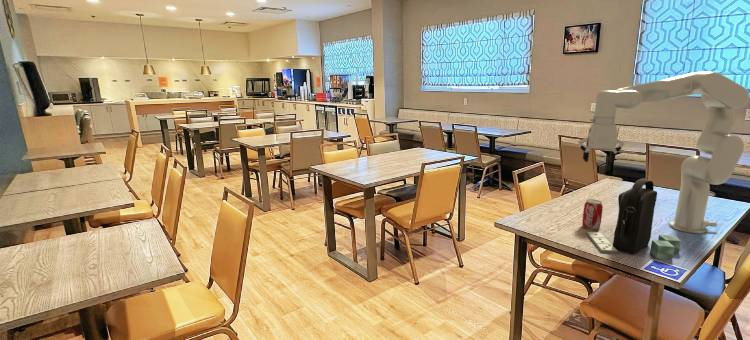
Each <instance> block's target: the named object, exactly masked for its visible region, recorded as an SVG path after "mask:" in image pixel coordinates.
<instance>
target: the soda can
mask: <svg viewBox="0 0 750 340" xmlns="http://www.w3.org/2000/svg"><path fill="white" fill-rule="evenodd" d="M602 203H603V202H602V201H601V200H598V199H586V201H585V203H584V205H583V213H582V219H581V220H582V223H581V224H582V226H583V227H584V228H586V229H587V230H598V229H600V227H601V224H602V216H603V209H604V206H603V204H602Z"/></svg>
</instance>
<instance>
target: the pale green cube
mask: <svg viewBox="0 0 750 340" xmlns="http://www.w3.org/2000/svg"><path fill="white" fill-rule="evenodd" d="M657 240H658V241H668V242H669V243H670V244H672V245H673V246H674V247H675V248H674V253H673V254H679V253H680V249H681V244H682V240H680V239H679V238H678V237H677V236H675V235H672V234H671V235H669V234H659V235H658V239H657Z"/></svg>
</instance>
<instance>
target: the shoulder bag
mask: <svg viewBox="0 0 750 340" xmlns="http://www.w3.org/2000/svg"><path fill="white" fill-rule="evenodd" d="M644 185H645V187H644ZM654 186H655V185H654V181H652V180H649V179H646V178H644V177H643V178H638V179H637V180H636V181H635V182H634V183H633V185H632V187H631V188H630V189H628V190H626V191H623V192H621V193H619V195H618V197H617V199H618V200H617V201H618V215H617V222H616V225H615V230H614V232H613V233H614V235H613V241H612V245H613V247H615V248H616V250H617V251H618V252H621V253H625V254H627V255H632V256H634V255H637V254H638V253H640V252H641V251H642V250H644V249H645V248H648V247H649V244H650V240H651V237H652V229H653V221H654V214H655V207H656V202H657V197H658V191H656V190H654Z"/></svg>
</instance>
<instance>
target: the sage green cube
mask: <svg viewBox="0 0 750 340" xmlns="http://www.w3.org/2000/svg"><path fill="white" fill-rule="evenodd" d="M674 248H675V247H674V246H673V245H672V244H670V243H669V242H668V241H658V239H657V240H656V239H652V240H651V244H650V250H649V252H650V254H651V255H652V256H653V257H654V258H656V259H663V260H673V257H674V254H675V253H674Z"/></svg>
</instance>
